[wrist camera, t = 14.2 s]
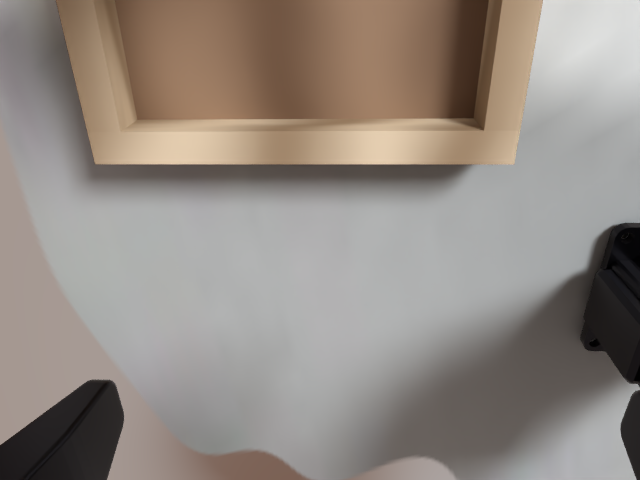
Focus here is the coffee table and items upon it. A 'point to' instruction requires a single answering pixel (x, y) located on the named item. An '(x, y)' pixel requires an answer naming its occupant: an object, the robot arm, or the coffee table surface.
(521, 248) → the coffee table surface
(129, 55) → the keyhole board
